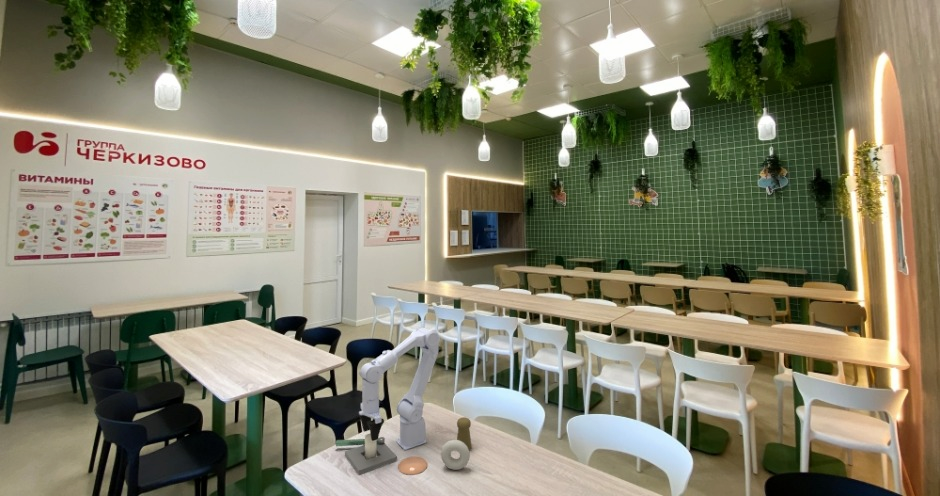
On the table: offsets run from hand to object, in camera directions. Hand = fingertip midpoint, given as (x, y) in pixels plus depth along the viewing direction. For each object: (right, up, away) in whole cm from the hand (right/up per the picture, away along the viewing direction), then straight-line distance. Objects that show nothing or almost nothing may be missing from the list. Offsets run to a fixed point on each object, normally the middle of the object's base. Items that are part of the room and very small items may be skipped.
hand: (370, 435), depth 138 cm
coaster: (+16, -9, -4) cm, 18 cm away
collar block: (0, -8, 0) cm, 8 cm away
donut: (+31, -9, -6) cm, 32 cm away
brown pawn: (+33, -9, +7) cm, 35 cm away
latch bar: (-5, -7, +7) cm, 11 cm away
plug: (0, -8, 0) cm, 9 cm away
